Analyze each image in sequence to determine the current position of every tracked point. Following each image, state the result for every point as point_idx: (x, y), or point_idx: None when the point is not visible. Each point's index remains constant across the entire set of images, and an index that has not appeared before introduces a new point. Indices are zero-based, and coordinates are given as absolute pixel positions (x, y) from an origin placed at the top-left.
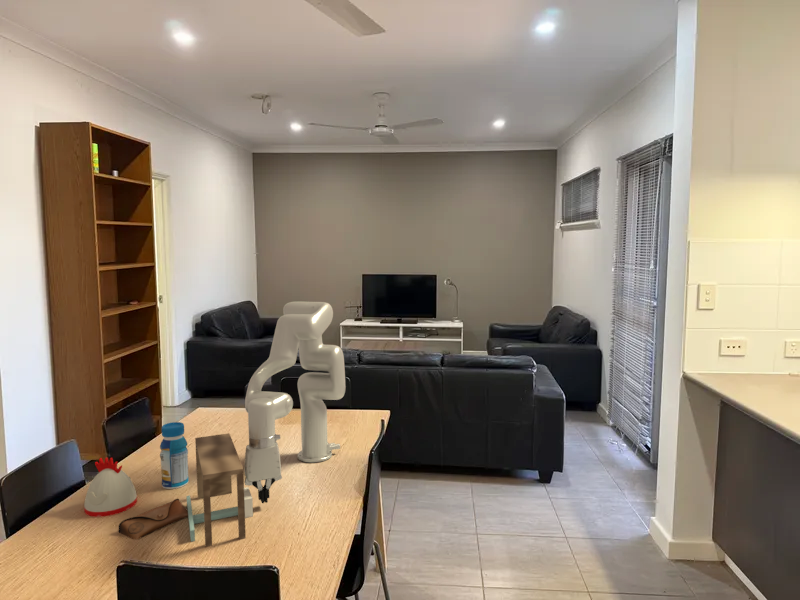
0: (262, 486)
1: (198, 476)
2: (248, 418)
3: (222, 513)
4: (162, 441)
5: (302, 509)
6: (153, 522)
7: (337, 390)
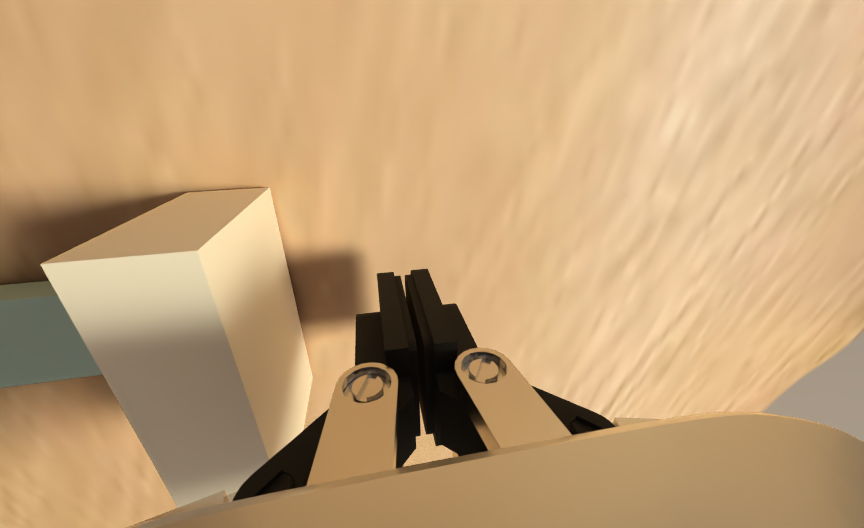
0: (413, 425)
1: None
2: None
3: (26, 374)
4: None
5: (601, 355)
6: None
7: None
